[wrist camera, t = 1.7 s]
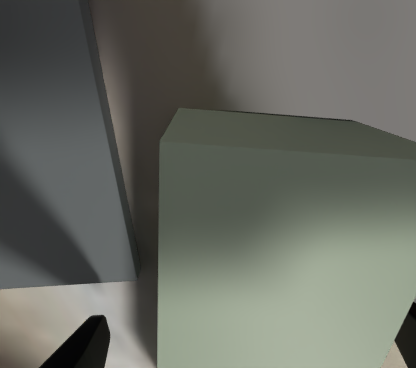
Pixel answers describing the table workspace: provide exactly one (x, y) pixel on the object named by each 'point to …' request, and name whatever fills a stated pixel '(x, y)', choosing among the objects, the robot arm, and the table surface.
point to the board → (58, 153)
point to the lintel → (282, 241)
